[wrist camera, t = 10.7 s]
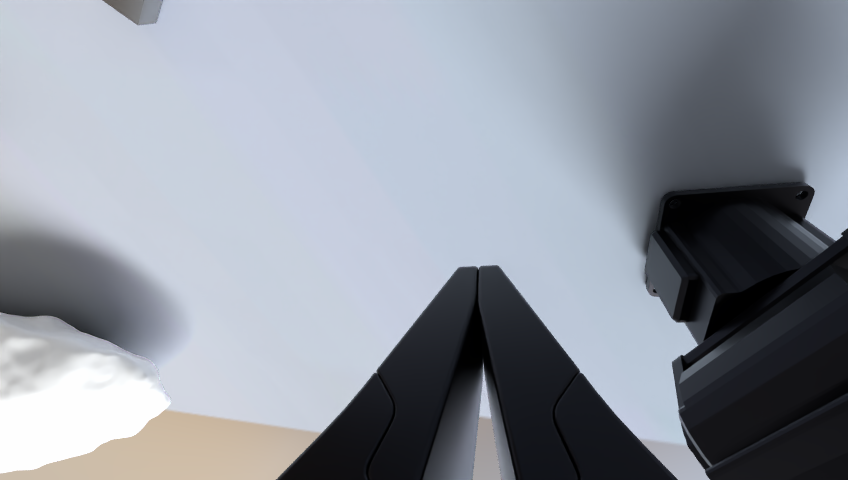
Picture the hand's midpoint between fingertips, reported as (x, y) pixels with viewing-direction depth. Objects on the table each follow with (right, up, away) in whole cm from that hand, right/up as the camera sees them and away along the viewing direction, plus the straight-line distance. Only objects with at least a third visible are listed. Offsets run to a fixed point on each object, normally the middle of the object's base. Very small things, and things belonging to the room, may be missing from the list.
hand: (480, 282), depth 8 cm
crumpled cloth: (-36, -8, +26) cm, 45 cm away
